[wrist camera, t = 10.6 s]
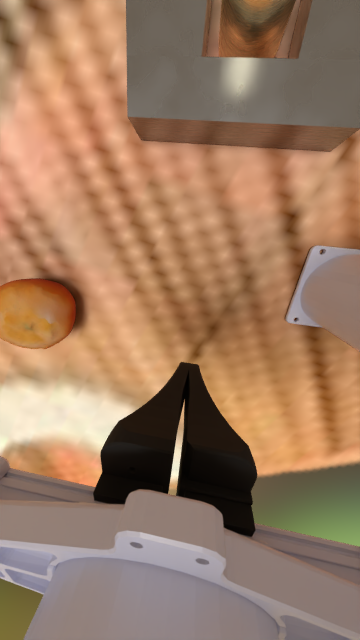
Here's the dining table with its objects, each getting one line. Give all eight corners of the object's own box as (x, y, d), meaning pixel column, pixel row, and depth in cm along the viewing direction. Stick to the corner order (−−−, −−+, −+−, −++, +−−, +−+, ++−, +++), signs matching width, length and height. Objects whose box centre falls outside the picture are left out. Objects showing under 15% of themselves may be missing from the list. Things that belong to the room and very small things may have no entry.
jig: (424, -129, 10) (511, -279, 7) (330, 151, 14) (360, 128, 12) (143, -113, 11) (123, -235, 8) (141, 140, 16) (127, 116, 13)
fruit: (1, 259, 20) (-41, 282, 14) (80, 274, 24) (75, 297, 18) (7, 320, 23) (-25, 361, 17) (76, 325, 27) (70, 359, 21)
